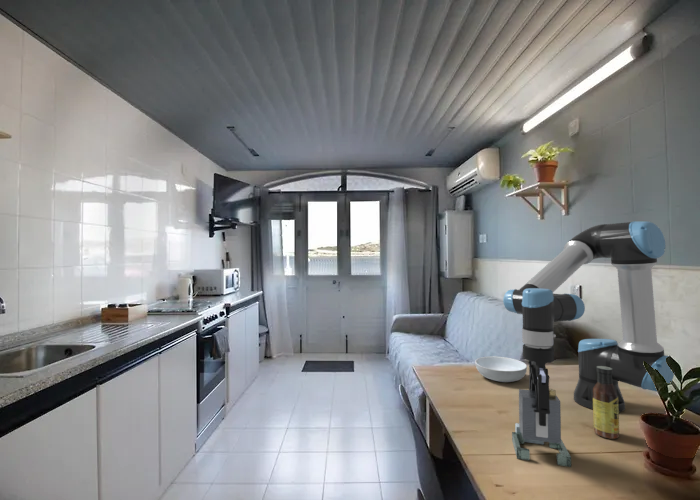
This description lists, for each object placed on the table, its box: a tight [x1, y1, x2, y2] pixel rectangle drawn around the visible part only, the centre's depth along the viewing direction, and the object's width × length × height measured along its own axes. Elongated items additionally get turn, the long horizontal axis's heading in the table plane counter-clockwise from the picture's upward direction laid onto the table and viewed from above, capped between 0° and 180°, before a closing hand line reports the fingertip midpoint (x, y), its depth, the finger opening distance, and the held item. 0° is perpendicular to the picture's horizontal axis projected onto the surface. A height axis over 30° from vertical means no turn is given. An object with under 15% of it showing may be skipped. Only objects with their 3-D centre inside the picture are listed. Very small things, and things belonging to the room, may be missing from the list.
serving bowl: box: [474, 355, 528, 383], centre depth 153 cm, size 21×21×7 cm
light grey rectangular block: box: [514, 422, 545, 445], centre depth 101 cm, size 7×2×4 cm, turn 72°
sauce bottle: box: [592, 366, 620, 440], centre depth 105 cm, size 6×6×20 cm
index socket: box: [511, 431, 572, 468], centre depth 95 cm, size 12×10×2 cm
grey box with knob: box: [518, 388, 562, 444], centre depth 95 cm, size 9×6×13 cm, turn 72°
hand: (539, 430), depth 95 cm, fingers closed on grey box with knob, 6 cm apart
